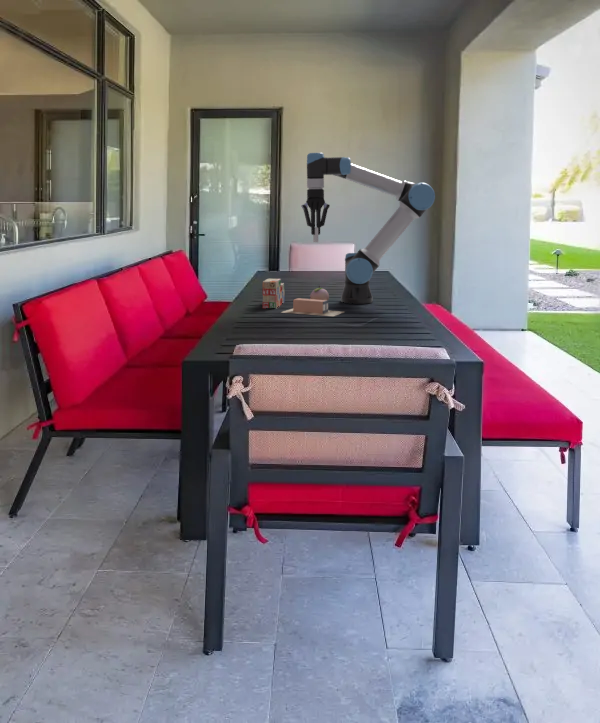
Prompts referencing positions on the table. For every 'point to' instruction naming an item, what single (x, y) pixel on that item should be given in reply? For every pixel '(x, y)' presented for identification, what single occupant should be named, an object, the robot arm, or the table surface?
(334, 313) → the board
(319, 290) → the decorative fruit
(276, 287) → the stack of blocks
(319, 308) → the block
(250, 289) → the table surface
